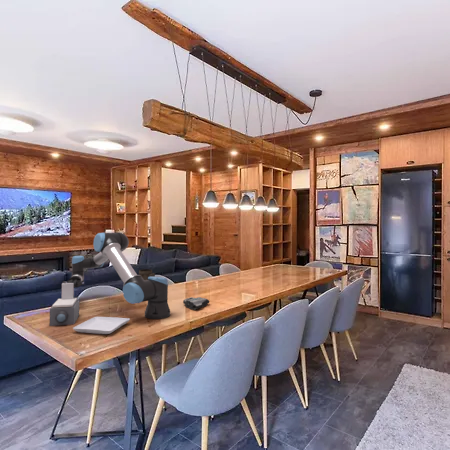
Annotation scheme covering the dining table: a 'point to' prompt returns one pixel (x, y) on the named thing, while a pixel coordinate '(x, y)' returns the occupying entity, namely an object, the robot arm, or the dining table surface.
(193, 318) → the dining table surface
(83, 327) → the salad plate
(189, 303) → the dark grey flat lump
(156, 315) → the robot arm
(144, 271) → the beer stein
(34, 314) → the dining table surface
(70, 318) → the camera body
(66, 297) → the side cover
